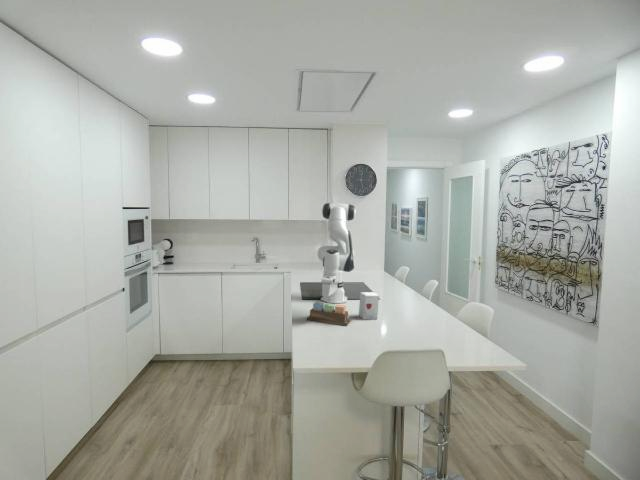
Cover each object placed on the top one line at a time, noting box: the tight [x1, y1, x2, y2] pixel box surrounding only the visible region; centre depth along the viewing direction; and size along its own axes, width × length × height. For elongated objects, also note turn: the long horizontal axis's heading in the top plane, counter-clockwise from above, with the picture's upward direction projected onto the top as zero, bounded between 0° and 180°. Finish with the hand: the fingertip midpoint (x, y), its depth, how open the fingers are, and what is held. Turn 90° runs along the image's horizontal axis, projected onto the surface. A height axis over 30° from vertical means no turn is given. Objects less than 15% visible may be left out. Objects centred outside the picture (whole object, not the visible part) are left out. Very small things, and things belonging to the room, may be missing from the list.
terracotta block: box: [335, 304, 347, 314], centre depth 228 cm, size 5×5×5 cm
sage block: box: [324, 302, 336, 313], centre depth 230 cm, size 5×5×5 cm
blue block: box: [312, 301, 325, 311], centre depth 232 cm, size 5×5×5 cm
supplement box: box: [358, 291, 380, 321], centre depth 241 cm, size 9×9×15 cm
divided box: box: [305, 307, 352, 327], centre depth 230 cm, size 10×24×6 cm, turn 73°
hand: (329, 301), depth 229 cm, fingers closed
